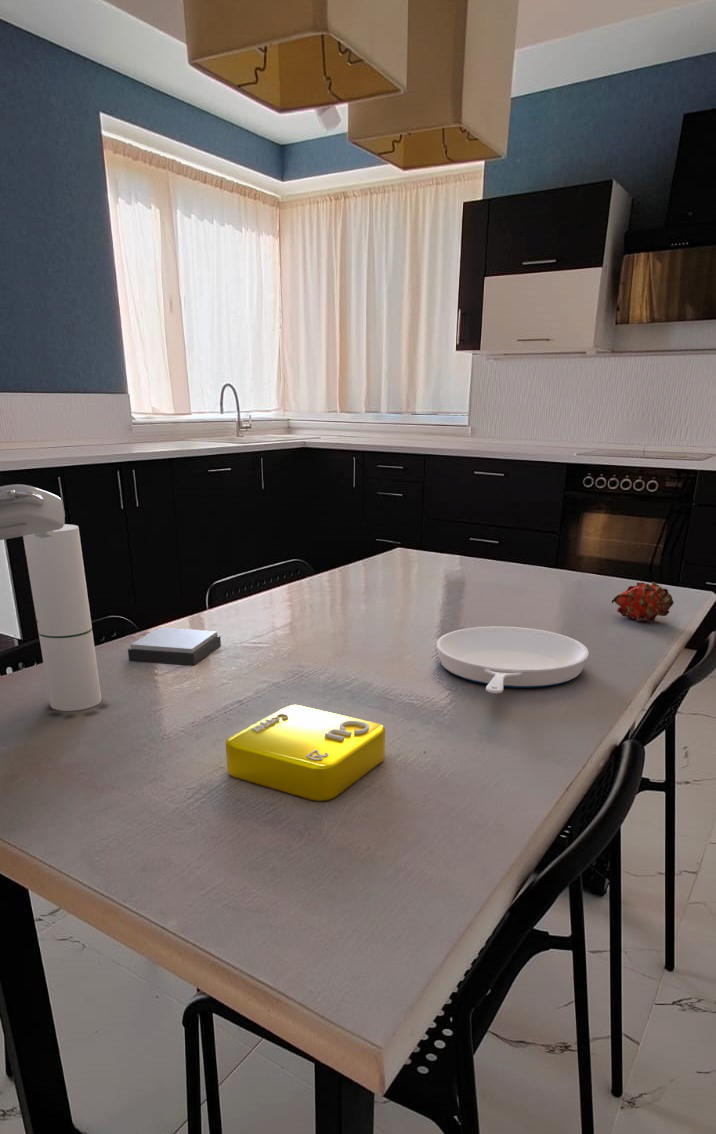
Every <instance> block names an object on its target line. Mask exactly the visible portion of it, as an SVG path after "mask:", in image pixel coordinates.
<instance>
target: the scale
mask: <svg viewBox="0 0 716 1134" xmlns="http://www.w3.org/2000/svg"><path fill="white" fill-rule="evenodd" d="M221 646H222V642H221V635H220V634H218V631H217V630H204V629H188V628H178V627H177V628H174V627H157V628H156V629H154V630H152V631H151V632H149V633H147V634H146V635H144V636H142V637H141V638H139V639H137V640H135V641H134V642H132V643H130V647H129V648H128V649H127V654H128V661H131V662H132V661H133V662H143V663H144V662H145V663H157V664H167V665H168V664H169V665H183V666H196V665H198V664H199V663H200V662H201V661H202V660H204V659H205V658H206V657H208V656H209V655H211V654H212V653H213V652H214V651H216V650H217V649H219V648H220V647H221Z"/></svg>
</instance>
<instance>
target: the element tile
mask: <svg viewBox="0 0 716 1134" xmlns="http://www.w3.org/2000/svg"><path fill="white" fill-rule="evenodd" d="M224 743H225V754H226V755H225V759H226V770H227V773H228V775H230V776H231V777H233V778H235V779H238V780H242V781H245V782H248V783H253V784H255V785H259V786H263V787H265V788H268V789H273V790H276V791H280V792H283V793H286V794H290V795H293V796H296V797H300V798H303V799H306V800H310V801H316V802H325V801H330V800H332V799H334V798H336V797H338V796H339V795H340V794H341V793H343V792H344V791H346V790H347V789H348V788H349V787H351V786H352V785H354V783H356V782H357V781H359V780H360V779H361V778H362V777H364V776H365V775H366V774H368V773H369V772H370V771H372V770H373V769H374V768H376V767H377V766H378V765H380V764H381V763H382V762H383V761H384V759H385V756H386V728H385V726H384V725H383V724H381V723H377V722H374V721H369V720H365V719H361V718H356V717H351V716H348V715H342V714H338V713H334V712H329V711H325V710H321V709H318V708H317V709H316V708H312V707H308V706H303V705H298V704H291V705H289V706H285V707H283V708H281V709H279V710H278V711H275V712H274V713H272V714H270V715H268V716H266V717H264V718H262V719H260V720H259V721H257V722H255V723H253V724H251V725H249V726H248V727H245V728H243V729H241V730H240V731H238V732H236V733H234V734H232V735H230V736H229V737H228V738H227V739H226V740H225V742H224Z"/></svg>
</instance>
